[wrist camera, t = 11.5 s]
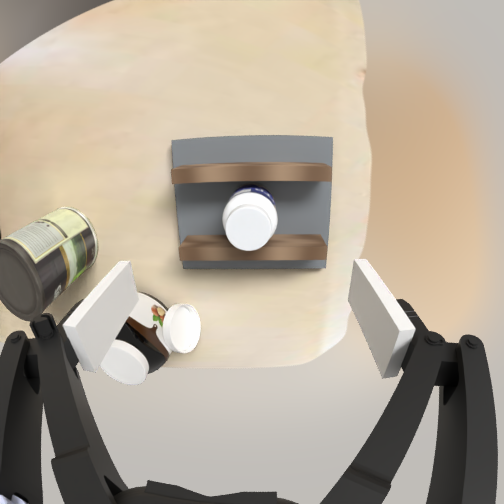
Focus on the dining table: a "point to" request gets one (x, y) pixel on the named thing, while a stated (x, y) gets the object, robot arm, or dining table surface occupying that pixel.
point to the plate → (284, 192)
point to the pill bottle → (250, 217)
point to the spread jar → (150, 339)
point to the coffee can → (44, 260)
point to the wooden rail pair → (278, 243)
